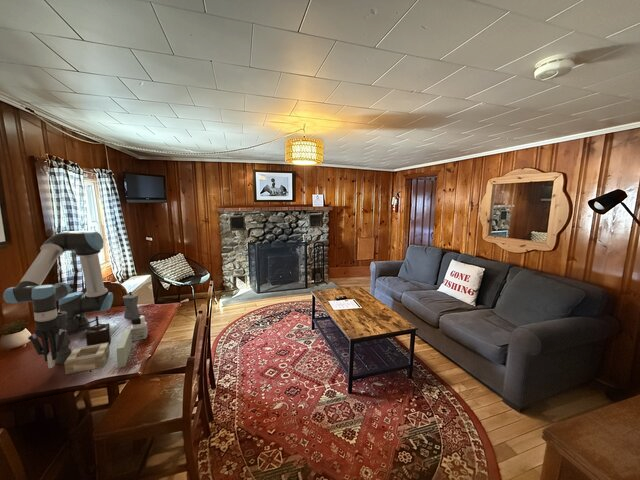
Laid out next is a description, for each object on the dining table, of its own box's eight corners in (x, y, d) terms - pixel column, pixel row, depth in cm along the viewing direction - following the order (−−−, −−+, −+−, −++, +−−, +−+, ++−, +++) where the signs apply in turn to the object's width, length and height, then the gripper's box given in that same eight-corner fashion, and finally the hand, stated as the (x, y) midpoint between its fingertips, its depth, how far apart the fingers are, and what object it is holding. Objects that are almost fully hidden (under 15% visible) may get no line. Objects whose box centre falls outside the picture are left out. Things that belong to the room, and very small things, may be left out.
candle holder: (63, 357, 140) (57, 311, 137) (75, 356, 140) (71, 311, 137) (52, 363, 134) (46, 316, 130) (65, 363, 134) (60, 316, 131)
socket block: (75, 359, 137) (74, 348, 137) (109, 352, 144) (108, 342, 143) (65, 374, 125) (64, 362, 124) (103, 366, 132) (102, 355, 131)
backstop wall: (125, 346, 150) (124, 330, 149) (132, 345, 152) (130, 329, 151) (117, 367, 131) (116, 348, 130) (125, 366, 133) (123, 347, 131)
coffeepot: (141, 317, 190) (140, 292, 188) (125, 320, 184) (123, 295, 182) (137, 310, 201) (135, 287, 199) (121, 314, 195) (120, 290, 193)
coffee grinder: (111, 337, 161) (108, 308, 159) (110, 344, 153) (108, 314, 150) (76, 344, 152) (73, 314, 150) (74, 353, 143) (70, 321, 141)
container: (130, 341, 157) (129, 320, 155) (132, 335, 163) (131, 315, 162) (146, 338, 160) (145, 317, 159) (147, 333, 167) (146, 313, 165)
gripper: (22, 324, 117) (28, 374, 120) (62, 319, 123) (67, 367, 126) (30, 318, 124) (36, 365, 126) (68, 313, 130) (72, 359, 132)
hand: (51, 366), depth 126 cm, fingers closed
